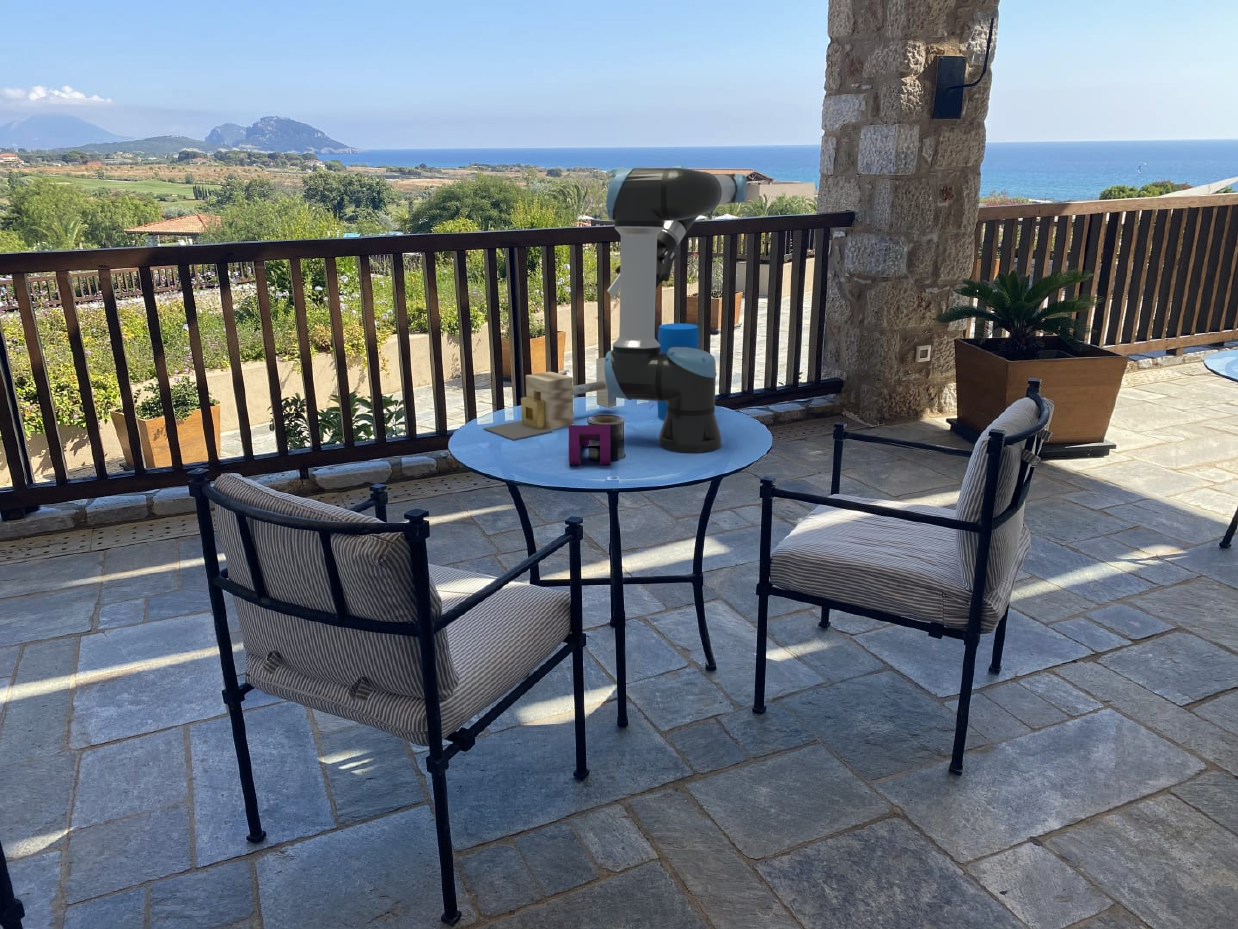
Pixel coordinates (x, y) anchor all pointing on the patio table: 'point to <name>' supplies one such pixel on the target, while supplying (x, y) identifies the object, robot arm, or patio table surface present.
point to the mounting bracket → (581, 437)
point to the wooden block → (553, 397)
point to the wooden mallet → (598, 387)
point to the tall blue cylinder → (675, 338)
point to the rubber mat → (516, 430)
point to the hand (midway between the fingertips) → (626, 296)
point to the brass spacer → (533, 412)
